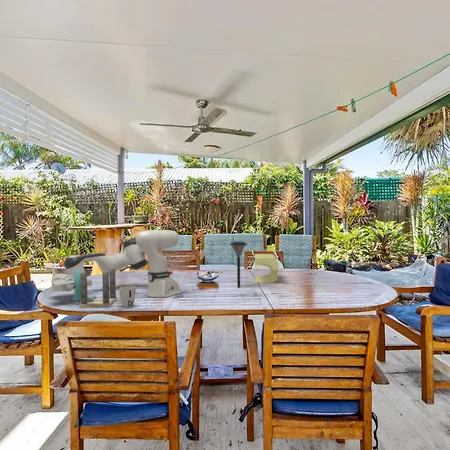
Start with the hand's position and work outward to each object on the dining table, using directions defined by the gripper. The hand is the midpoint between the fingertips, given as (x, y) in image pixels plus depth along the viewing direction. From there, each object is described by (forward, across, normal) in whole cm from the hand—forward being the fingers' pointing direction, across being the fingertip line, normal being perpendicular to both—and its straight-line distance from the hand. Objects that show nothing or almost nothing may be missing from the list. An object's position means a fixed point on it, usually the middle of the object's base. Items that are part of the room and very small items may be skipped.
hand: (78, 286), depth 187 cm
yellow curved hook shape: (+32, -123, -10) cm, 128 cm away
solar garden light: (+34, -91, -10) cm, 98 cm away
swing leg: (+2, -2, -7) cm, 8 cm away
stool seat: (+7, -8, -10) cm, 15 cm away
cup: (+23, -16, -10) cm, 30 cm away
